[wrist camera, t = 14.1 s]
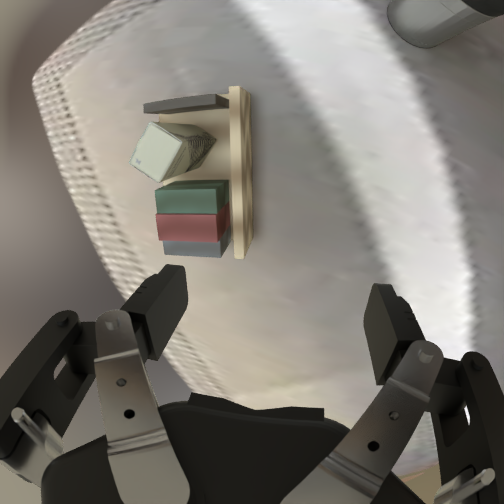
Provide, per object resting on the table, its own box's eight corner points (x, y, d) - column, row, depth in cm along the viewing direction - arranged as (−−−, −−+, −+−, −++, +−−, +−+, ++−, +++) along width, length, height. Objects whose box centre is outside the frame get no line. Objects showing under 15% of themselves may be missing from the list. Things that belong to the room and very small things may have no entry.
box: (199, 168, 38) (157, 187, 26) (175, 152, 37) (125, 165, 26) (219, 137, 36) (183, 142, 24) (194, 121, 35) (148, 120, 24)
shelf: (163, 102, 36) (133, 99, 28) (250, 94, 34) (237, 84, 26) (173, 234, 45) (148, 256, 37) (252, 237, 43) (242, 262, 35)
